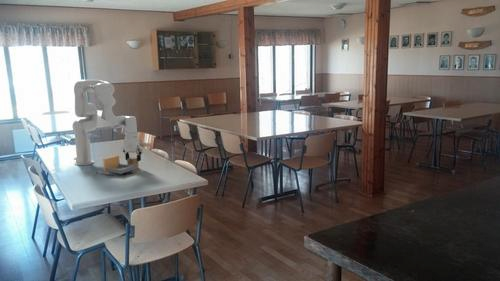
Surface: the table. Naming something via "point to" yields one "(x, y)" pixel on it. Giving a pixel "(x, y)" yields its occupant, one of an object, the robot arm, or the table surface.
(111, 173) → the rail track
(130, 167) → the grey and tan frame
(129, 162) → the walnut block
